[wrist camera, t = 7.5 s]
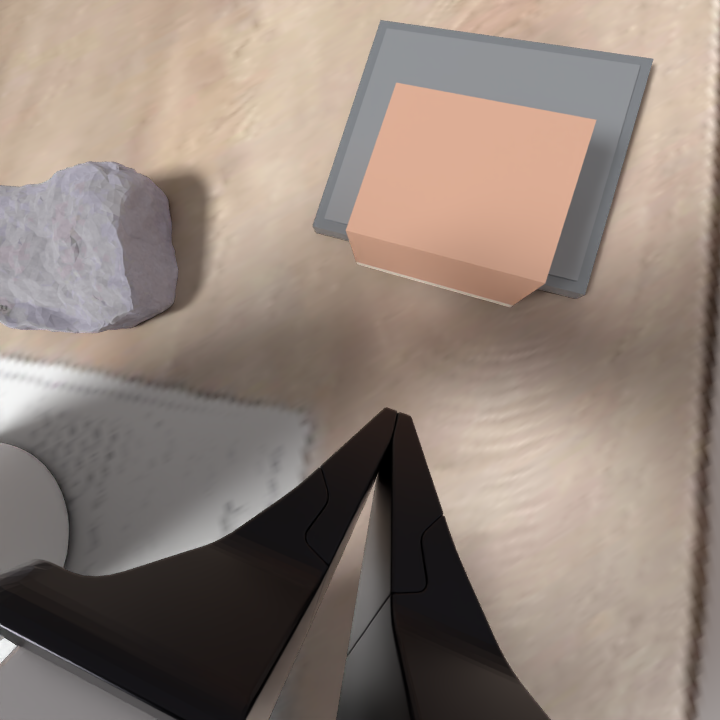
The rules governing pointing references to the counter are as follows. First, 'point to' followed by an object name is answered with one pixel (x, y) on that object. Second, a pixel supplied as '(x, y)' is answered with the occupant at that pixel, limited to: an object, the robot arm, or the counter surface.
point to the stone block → (85, 251)
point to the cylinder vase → (30, 511)
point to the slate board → (508, 85)
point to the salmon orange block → (467, 192)
